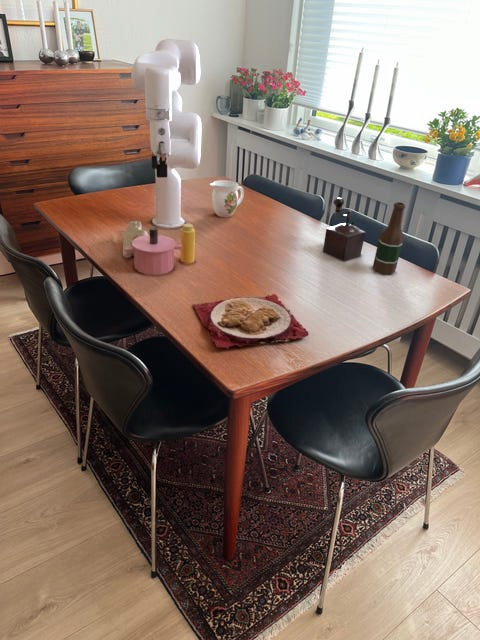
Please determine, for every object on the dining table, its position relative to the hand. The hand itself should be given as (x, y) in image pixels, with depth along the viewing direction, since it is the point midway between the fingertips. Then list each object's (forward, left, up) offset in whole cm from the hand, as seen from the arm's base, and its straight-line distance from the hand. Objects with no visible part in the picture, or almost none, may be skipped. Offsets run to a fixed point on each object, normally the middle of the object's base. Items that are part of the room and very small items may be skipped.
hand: (159, 172), depth 153 cm
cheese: (-6, -8, -28) cm, 30 cm away
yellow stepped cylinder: (+6, +8, -28) cm, 30 cm away
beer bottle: (+23, +74, -28) cm, 83 cm away
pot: (+8, -3, -28) cm, 30 cm away
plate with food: (+47, +17, -28) cm, 57 cm away
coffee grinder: (+5, +65, -28) cm, 71 cm away
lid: (+8, -3, -20) cm, 22 cm away
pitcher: (-38, +34, -28) cm, 58 cm away
